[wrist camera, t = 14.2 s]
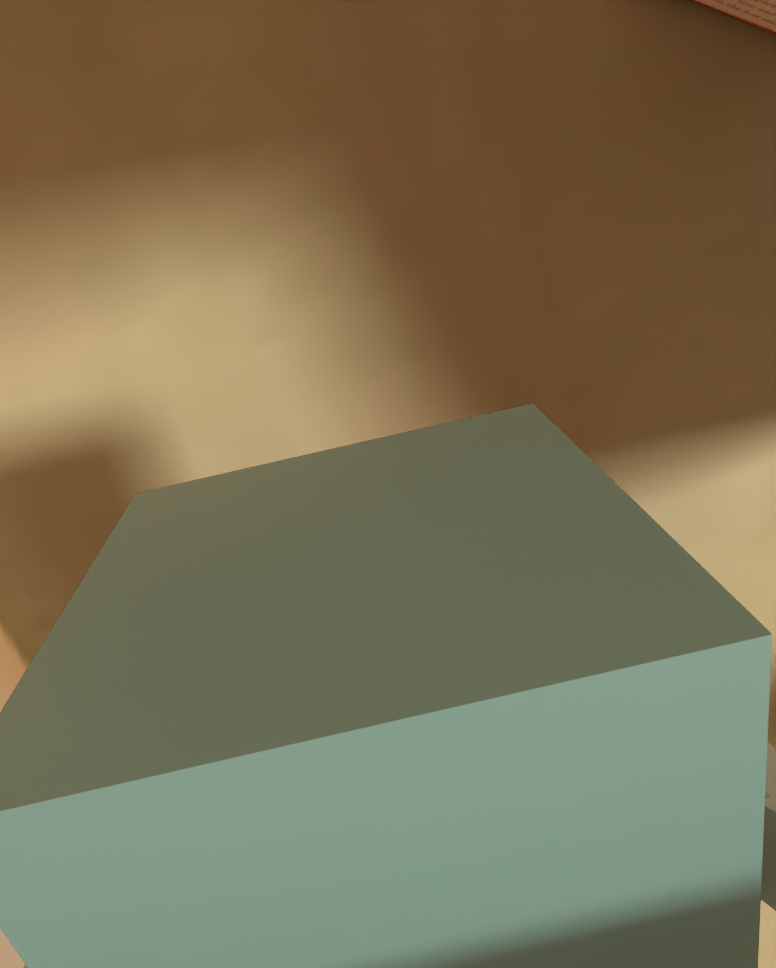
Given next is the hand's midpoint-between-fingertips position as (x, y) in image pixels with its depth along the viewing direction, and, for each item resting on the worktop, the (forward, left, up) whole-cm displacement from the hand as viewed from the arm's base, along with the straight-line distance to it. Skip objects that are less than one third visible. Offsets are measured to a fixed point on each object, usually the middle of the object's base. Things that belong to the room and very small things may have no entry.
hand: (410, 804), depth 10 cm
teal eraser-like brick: (0, 0, -3) cm, 3 cm away
